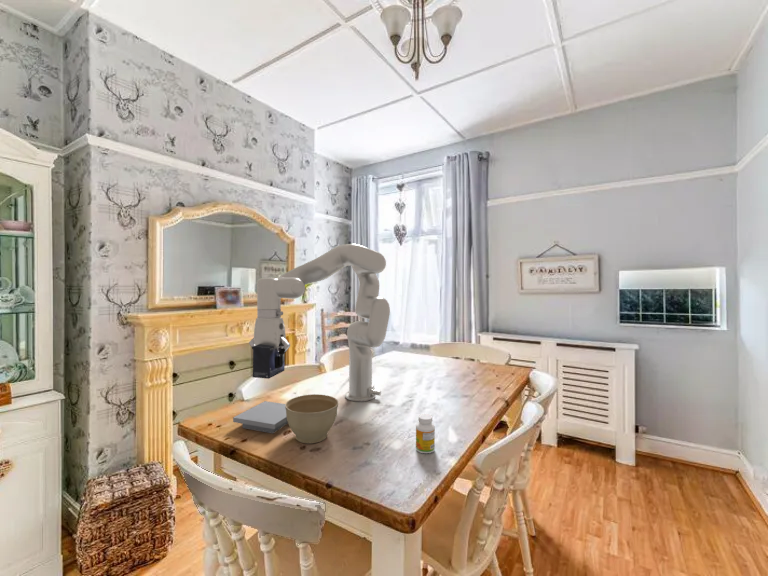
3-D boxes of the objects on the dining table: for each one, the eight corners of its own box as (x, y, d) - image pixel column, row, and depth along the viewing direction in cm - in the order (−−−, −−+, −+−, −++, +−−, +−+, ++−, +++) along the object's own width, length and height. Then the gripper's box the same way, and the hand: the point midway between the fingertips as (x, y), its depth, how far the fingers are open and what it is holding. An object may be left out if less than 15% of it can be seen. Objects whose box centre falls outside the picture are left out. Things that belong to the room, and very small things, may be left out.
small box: (269, 379, 111) (269, 347, 111) (251, 378, 113) (251, 346, 112) (285, 370, 122) (285, 341, 121) (269, 369, 123) (268, 340, 123)
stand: (302, 417, 123) (302, 406, 122) (274, 437, 107) (274, 424, 107) (265, 411, 128) (265, 401, 128) (233, 429, 113) (233, 417, 112)
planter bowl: (313, 455, 96) (313, 417, 96) (274, 440, 105) (273, 405, 105) (348, 433, 110) (348, 399, 110) (311, 422, 119) (311, 390, 118)
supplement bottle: (414, 445, 103) (414, 413, 102) (432, 444, 103) (432, 412, 103) (417, 454, 97) (417, 420, 97) (436, 453, 98) (436, 420, 97)
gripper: (297, 314, 117) (297, 366, 118) (255, 312, 123) (255, 361, 124) (284, 316, 110) (284, 371, 111) (240, 314, 116) (240, 367, 117)
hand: (269, 366), depth 117 cm, fingers closed on small box, 6 cm apart
